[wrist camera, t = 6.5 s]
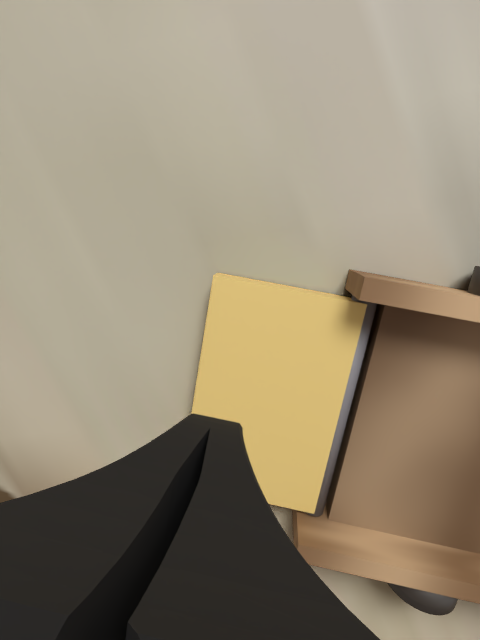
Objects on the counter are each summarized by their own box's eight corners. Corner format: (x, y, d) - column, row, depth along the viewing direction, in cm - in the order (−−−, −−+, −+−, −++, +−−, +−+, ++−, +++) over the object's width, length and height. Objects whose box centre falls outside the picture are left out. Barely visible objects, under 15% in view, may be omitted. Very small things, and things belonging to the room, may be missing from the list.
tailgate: (381, 301, 15) (214, 270, 15) (324, 520, 17) (179, 487, 17) (374, 296, 16) (218, 267, 16) (321, 502, 18) (186, 471, 18)
